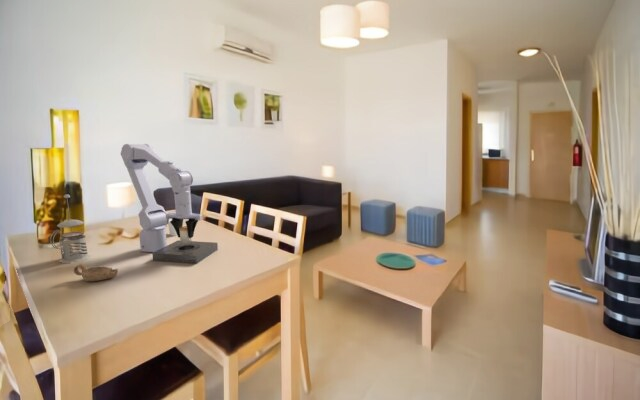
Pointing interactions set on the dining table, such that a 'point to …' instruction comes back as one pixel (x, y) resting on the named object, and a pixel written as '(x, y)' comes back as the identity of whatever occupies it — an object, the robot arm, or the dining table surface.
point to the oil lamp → (95, 273)
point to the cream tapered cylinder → (172, 229)
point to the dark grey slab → (185, 252)
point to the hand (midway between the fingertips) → (185, 237)
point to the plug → (184, 235)
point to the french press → (75, 239)
